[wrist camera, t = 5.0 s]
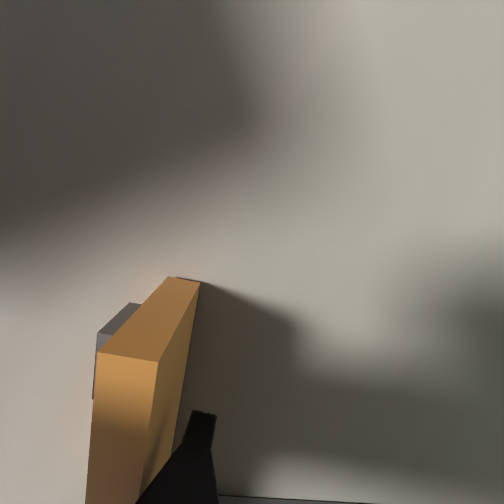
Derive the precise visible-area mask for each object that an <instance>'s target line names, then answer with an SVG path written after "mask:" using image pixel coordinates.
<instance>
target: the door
mask: <svg viewBox="0 0 504 504" xmlns="http://www.w3.org/2000/svg"><path fill="white" fill-rule="evenodd" d="M199 287H200V283H199V282H194V281H189V280H184V279H178V278H173V277H167V278H166V279H165V280H164V282H163V283H162V284H161V285H160V286H159V287H158V288H157V289H156V290H155V291H154V292H153V293H152V294H151V295H150V296H149V298H148V299H147V300H146V301H145V302H144V303H143V304H142V305H141V304H136V303H128V304H127V305H126V306H125V307H124V308H123V309H122V310H121V311H120V312H119V313H118V314H117V315H116V316H115V317H114V318H112V319H111V320H110V321H109V322H108V323H107V324H106V325H105V326H104V327H103V328H102V329H101V330H100V331H99V332H98V333H97V342H96V354H95V367H94V380H93V393H92V399H93V412H92V424H91V437H90V449H89V462H88V474H87V487H86V499H85V504H135V503H136V501H137V500H138V499H139V497H140V496H141V495H142V493H143V492H144V491H145V489H146V488H147V487H148V486H149V484H150V483H151V482H152V480H153V479H154V478H155V476H156V475H157V474H158V472H159V471H160V470H161V469H162V467H163V466H164V465H165V463H166V462H167V461H168V459H169V458H170V457H171V451H172V445H173V439H174V433H175V427H176V422H177V416H178V410H179V404H180V398H181V392H182V387H183V381H184V375H185V369H186V363H187V357H188V352H189V346H190V340H191V334H192V328H193V322H194V316H195V311H196V305H197V299H198V293H199Z"/></svg>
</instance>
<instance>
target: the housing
mask: <svg viewBox="0 0 504 504" xmlns="http://www.w3.org/2000/svg"><path fill="white" fill-rule="evenodd" d="M218 497H219V503H220V504H357V503H338V502H320V501H302V500H284V499H266V498H248V497H230V496H218Z"/></svg>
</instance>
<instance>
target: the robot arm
mask: <svg viewBox="0 0 504 504" xmlns="http://www.w3.org/2000/svg"><path fill="white" fill-rule="evenodd" d="M216 420H217V416H216V415H215V414H211V413H207V412H206V413H205V412H202V411H198V410H193V411H192V412H191V415H190V418H189V421H188V424H187V427H186V430H185V433H184V436H183V439H182V442H181V444H180V445H179V446H178V448H177V449H176V450H175V452H174V453H173V454H172V455H171V457H170V458H169V459H168V461H167V462H166V463H165V465H164V466H163V467H162V469H161V470H160V471H159V472H158V474H157V475H156V476H155V478H154V479H153V480H152V482H151V483H150V484H149V486H148V487H147V488H146V489H145V491H144V492H143V493H142V495H141V496H140V497H139V499H138V500H137V501H136V503H135V504H220V503H219V497H218V490H217V484H216V478H215V471H214V465H213V459H212V452H211V447H212V442H213V436H214V431H215V425H216Z"/></svg>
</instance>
